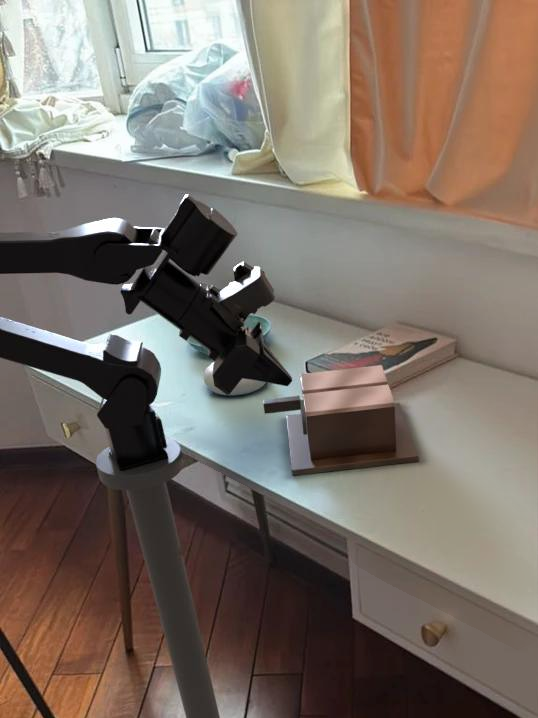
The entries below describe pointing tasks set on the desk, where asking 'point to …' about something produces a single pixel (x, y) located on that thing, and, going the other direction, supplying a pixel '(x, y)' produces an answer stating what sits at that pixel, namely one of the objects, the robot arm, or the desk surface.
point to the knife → (286, 407)
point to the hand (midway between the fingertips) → (290, 382)
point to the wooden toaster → (348, 423)
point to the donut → (241, 388)
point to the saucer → (249, 322)
